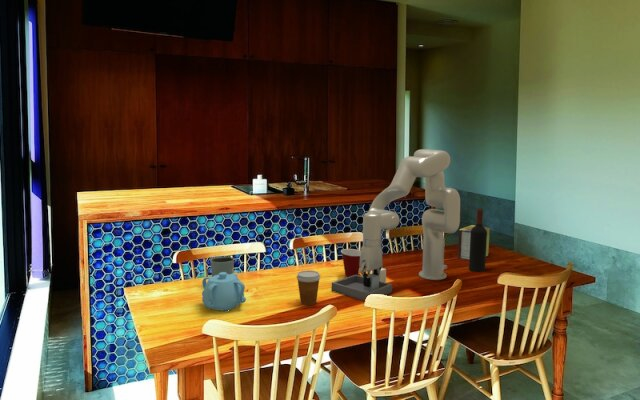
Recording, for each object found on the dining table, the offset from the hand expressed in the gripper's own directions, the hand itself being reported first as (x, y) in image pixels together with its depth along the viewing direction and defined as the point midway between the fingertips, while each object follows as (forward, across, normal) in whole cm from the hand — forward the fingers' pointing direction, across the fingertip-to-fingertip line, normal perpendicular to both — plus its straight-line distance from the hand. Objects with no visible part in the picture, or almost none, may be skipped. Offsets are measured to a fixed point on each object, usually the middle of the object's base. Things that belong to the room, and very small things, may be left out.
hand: (371, 284), depth 220 cm
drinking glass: (+5, +36, -54) cm, 65 cm away
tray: (+4, 0, -5) cm, 7 cm away
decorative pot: (+5, +51, -33) cm, 61 cm away
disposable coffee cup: (+5, +25, -12) cm, 28 cm away
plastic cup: (+5, -14, -22) cm, 26 cm away
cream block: (+5, -16, -8) cm, 18 cm away
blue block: (+2, 0, 0) cm, 2 cm away
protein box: (+5, -85, +2) cm, 85 cm away
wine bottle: (+5, -64, +15) cm, 66 cm away
